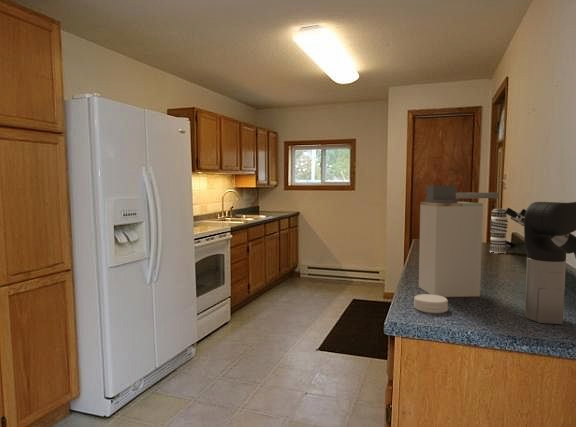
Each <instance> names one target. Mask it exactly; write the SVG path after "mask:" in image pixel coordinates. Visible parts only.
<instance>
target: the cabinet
mask: <svg viewBox="0 0 576 427" xmlns="http://www.w3.org/2000/svg"><path fill="white" fill-rule="evenodd" d="M483 208H484V203H483V202H473V201H472V202H470V201H469V202H468V201H458V199H456V200H434V203H427V202H426V198H424V201H420V208H419V209H420V210H419V258H418V259H419V260H418V264H419V265H418V287H419V288H420V289H421V290H422V291H424V292H426V293H427V294H433V295H439V296H443V297H445V298H450V297H451V298H453V297H454V298H455V297H462V298H463V297H480V296H481V279H482V278H481V276H482V274H481V273H482V270H481V269H482V248H483V247H482V244H483V242H482V240H483V237H482V236H483V211H484V210H483Z"/></svg>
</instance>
